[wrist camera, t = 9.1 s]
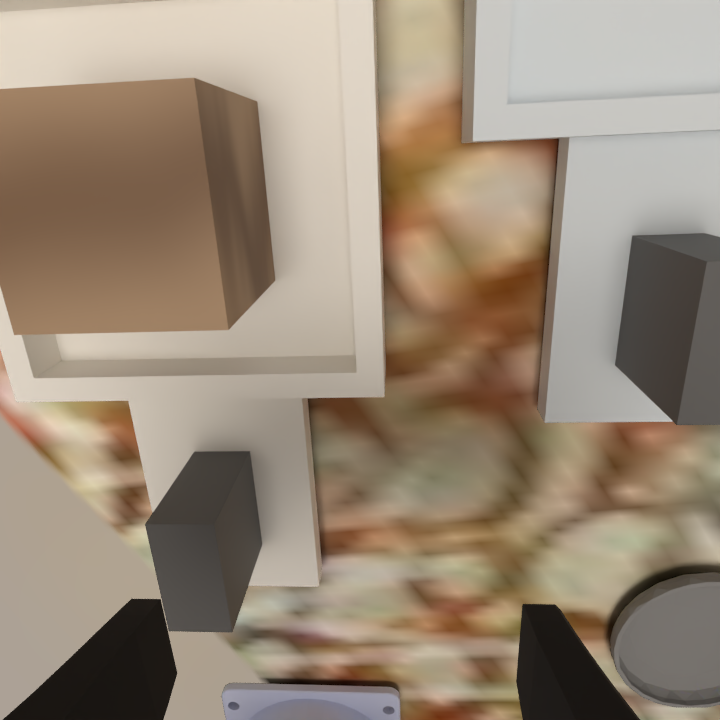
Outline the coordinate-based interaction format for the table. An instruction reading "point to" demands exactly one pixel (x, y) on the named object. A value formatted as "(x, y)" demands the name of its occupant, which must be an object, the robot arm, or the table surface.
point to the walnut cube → (131, 207)
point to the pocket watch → (672, 642)
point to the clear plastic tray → (615, 193)
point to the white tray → (266, 316)
